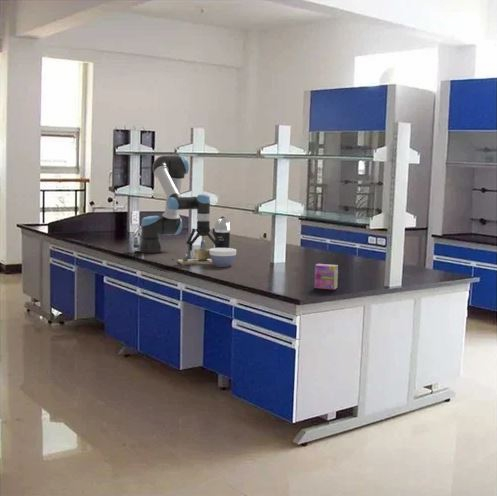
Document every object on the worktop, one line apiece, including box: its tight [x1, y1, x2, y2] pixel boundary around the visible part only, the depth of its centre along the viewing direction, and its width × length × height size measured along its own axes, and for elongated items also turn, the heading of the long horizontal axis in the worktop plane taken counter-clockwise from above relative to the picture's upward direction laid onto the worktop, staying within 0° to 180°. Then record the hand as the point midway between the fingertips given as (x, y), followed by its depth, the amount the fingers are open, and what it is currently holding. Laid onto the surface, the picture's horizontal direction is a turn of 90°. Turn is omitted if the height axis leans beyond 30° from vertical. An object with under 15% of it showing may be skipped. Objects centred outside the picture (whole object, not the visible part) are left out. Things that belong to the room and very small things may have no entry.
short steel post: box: [182, 253, 189, 262], centre depth 426 cm, size 3×3×4 cm
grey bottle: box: [214, 216, 231, 248], centre depth 460 cm, size 10×10×25 cm
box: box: [314, 263, 339, 291], centre depth 356 cm, size 10×6×12 cm, turn 66°
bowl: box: [209, 247, 237, 268], centre depth 419 cm, size 16×16×10 cm
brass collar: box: [193, 248, 211, 259], centre depth 429 cm, size 8×8×5 cm
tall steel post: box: [199, 240, 207, 261], centre depth 429 cm, size 5×5×12 cm
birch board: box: [177, 258, 215, 266], centre depth 428 cm, size 12×20×1 cm, turn 110°
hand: (203, 255), depth 429 cm, fingers open, 13 cm apart
